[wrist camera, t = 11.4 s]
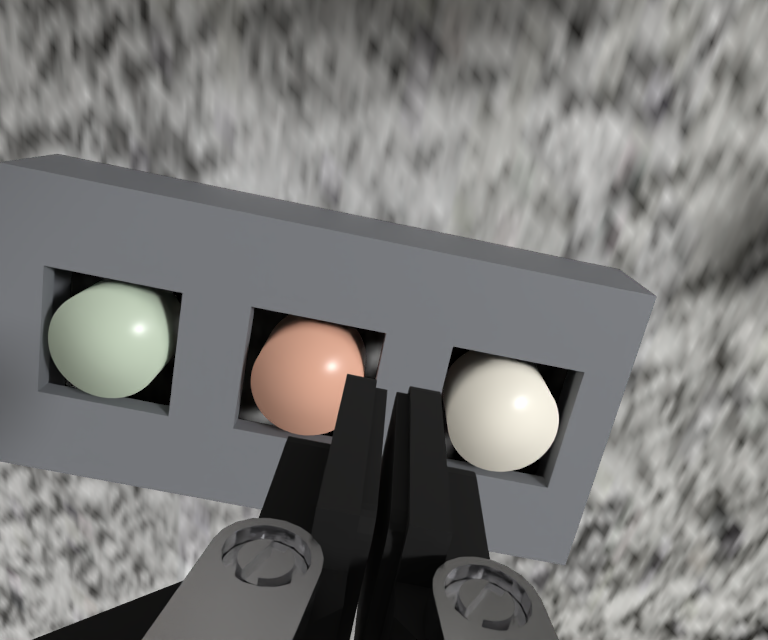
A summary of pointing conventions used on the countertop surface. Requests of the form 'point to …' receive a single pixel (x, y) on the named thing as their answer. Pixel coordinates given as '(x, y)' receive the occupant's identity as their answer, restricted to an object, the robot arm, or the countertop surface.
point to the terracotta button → (306, 373)
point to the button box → (302, 298)
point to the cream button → (498, 411)
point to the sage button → (114, 337)
